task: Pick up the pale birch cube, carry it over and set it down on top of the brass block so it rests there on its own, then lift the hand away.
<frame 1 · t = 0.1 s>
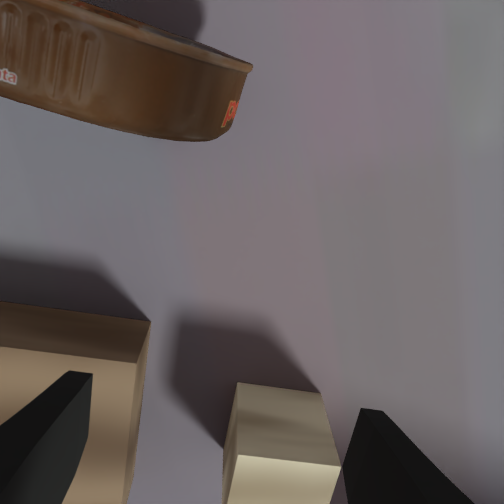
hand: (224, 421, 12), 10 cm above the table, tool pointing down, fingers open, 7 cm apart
tin: (59, 38, 18), on the table
birch cube: (270, 421, 25), on the table
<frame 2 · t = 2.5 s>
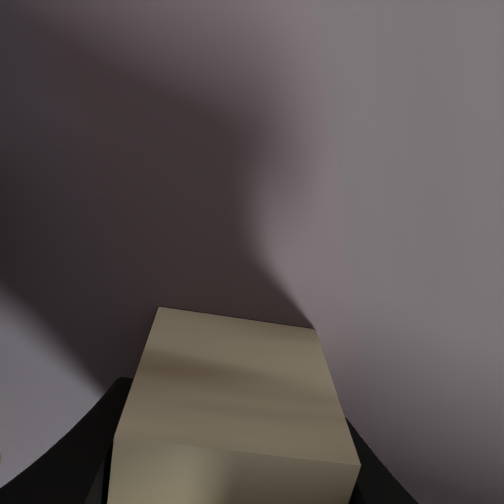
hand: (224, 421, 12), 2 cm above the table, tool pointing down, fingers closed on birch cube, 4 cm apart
birch cube: (225, 384, 14), on the table, touching gripper
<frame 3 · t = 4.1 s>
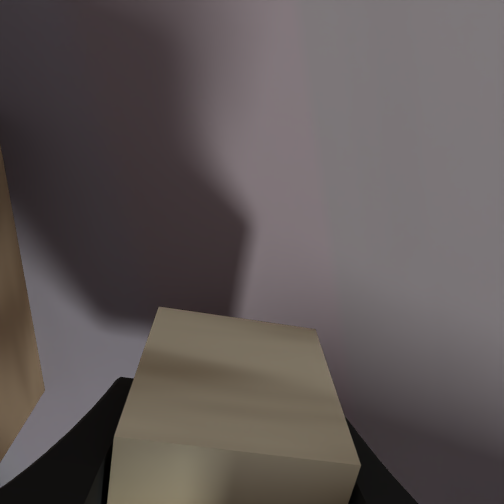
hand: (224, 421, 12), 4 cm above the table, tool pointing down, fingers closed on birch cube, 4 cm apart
birch cube: (225, 384, 14), point 3 cm above the table, touching gripper
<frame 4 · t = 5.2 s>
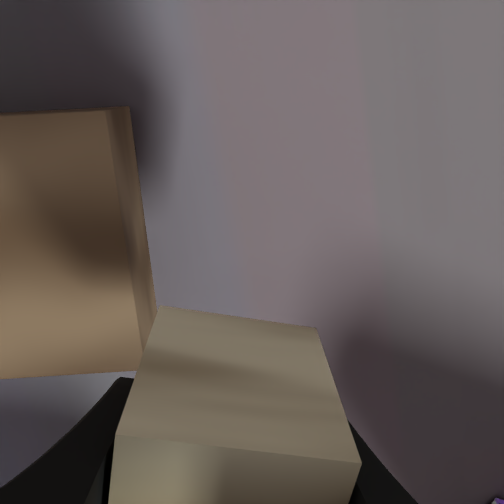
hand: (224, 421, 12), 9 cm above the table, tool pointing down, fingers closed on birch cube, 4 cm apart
birch cube: (226, 382, 14), point 8 cm above the table, touching gripper
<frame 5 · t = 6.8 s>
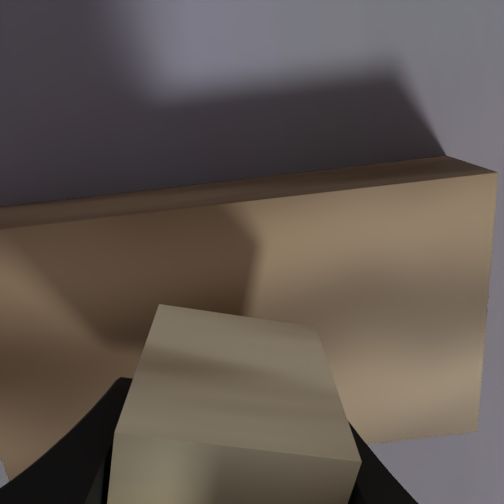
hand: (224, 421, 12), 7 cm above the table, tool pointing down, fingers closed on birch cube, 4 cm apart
birch cube: (225, 381, 14), point 6 cm above the table, touching gripper
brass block: (228, 295, 19), on the table
when the fingers open (7 cm above the table, at t = 8.1 s): birch cube drops 1 cm, point 3 cm above the table.
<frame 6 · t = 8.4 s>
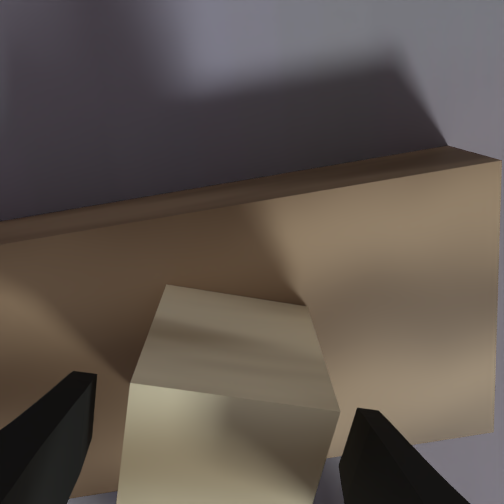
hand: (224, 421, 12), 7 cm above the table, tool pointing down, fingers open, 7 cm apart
birch cube: (226, 356, 15), point 3 cm above the table
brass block: (228, 301, 19), on the table
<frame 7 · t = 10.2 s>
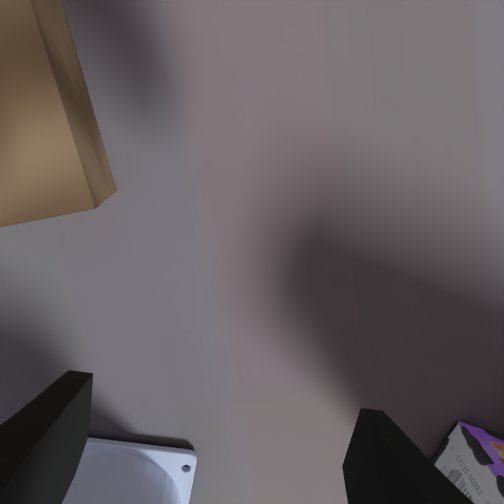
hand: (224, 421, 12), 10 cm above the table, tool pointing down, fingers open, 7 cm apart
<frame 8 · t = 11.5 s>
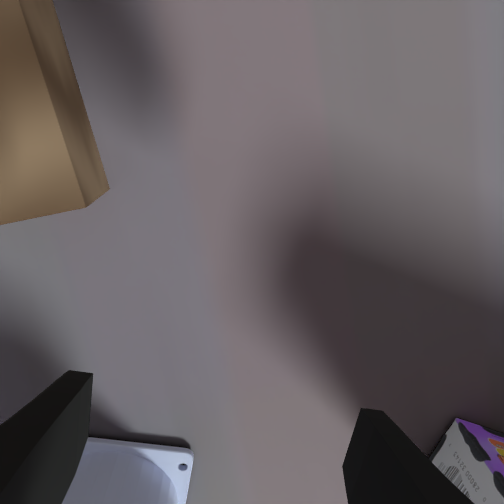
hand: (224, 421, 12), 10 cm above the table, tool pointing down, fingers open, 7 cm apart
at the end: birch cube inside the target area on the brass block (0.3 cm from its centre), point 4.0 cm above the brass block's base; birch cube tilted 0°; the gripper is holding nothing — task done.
